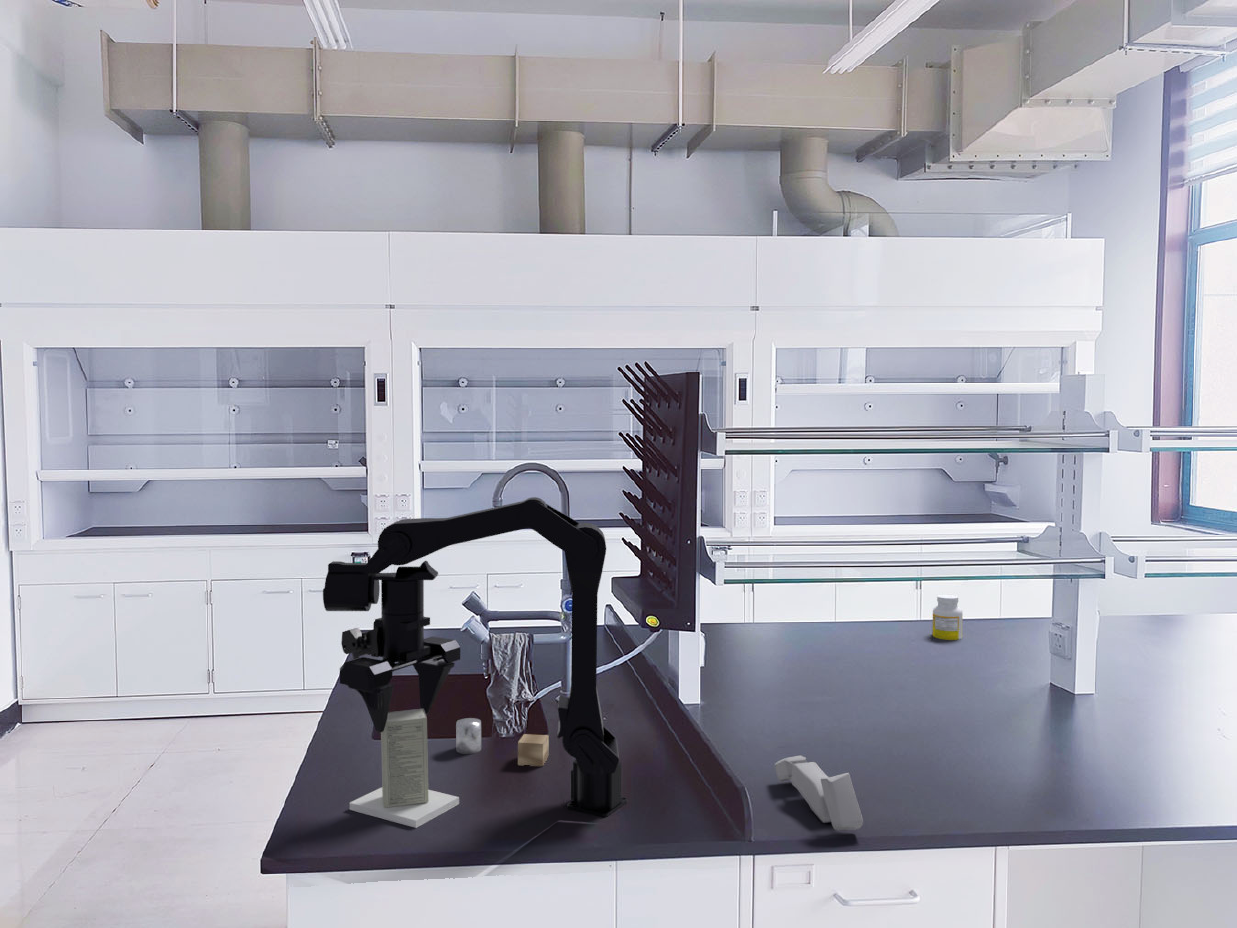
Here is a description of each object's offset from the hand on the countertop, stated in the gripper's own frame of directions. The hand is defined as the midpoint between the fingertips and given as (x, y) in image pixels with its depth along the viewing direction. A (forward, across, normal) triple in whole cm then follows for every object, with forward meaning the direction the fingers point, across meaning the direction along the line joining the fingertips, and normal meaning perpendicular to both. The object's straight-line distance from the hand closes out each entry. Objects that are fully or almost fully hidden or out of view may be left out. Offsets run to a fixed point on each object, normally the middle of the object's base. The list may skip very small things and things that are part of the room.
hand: (403, 722), depth 133 cm
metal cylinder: (+12, -22, -6) cm, 26 cm away
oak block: (+12, -23, +6) cm, 27 cm away
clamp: (+12, -28, +50) cm, 59 cm away
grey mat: (+12, 0, 0) cm, 12 cm away
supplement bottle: (+12, -132, +49) cm, 141 cm away
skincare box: (+11, 0, 0) cm, 11 cm away
